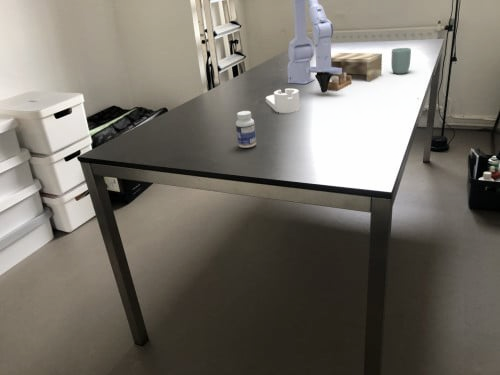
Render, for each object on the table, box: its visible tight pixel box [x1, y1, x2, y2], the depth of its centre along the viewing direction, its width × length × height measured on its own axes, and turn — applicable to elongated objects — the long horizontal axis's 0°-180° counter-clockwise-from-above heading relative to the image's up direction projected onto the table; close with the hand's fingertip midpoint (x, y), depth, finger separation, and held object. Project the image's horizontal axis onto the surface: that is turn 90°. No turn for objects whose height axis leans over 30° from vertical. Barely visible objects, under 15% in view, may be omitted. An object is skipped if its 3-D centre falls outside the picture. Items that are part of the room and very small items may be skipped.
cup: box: [390, 47, 412, 75], centre depth 190 cm, size 8×8×10 cm
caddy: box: [327, 72, 352, 92], centre depth 180 cm, size 5×12×6 cm, turn 141°
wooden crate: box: [331, 52, 383, 83], centre depth 192 cm, size 20×12×9 cm, turn 51°
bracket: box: [265, 88, 301, 114], centre depth 163 cm, size 20×9×7 cm, turn 14°
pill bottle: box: [235, 110, 257, 148], centre depth 128 cm, size 5×5×10 cm
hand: (324, 91), depth 173 cm, fingers closed
